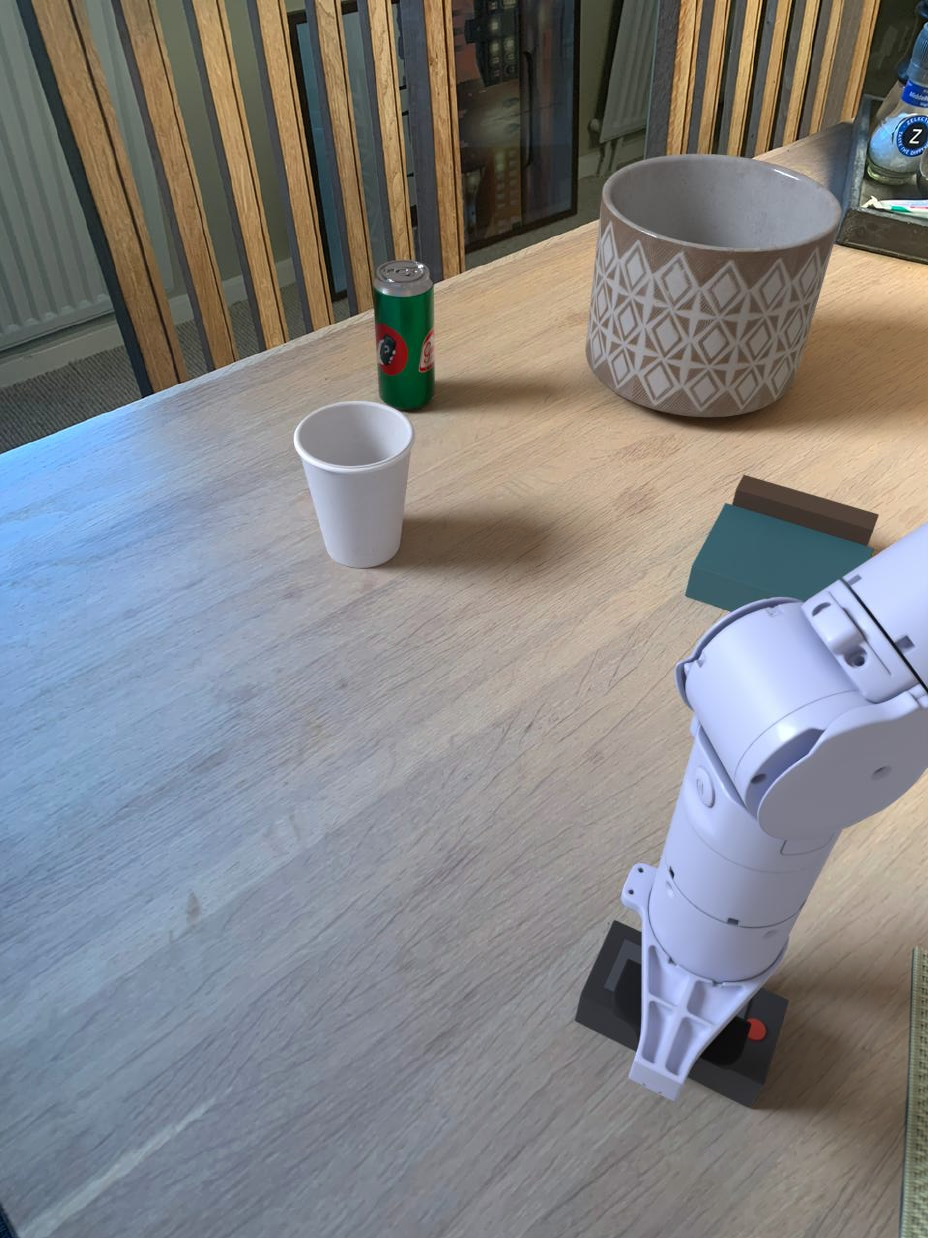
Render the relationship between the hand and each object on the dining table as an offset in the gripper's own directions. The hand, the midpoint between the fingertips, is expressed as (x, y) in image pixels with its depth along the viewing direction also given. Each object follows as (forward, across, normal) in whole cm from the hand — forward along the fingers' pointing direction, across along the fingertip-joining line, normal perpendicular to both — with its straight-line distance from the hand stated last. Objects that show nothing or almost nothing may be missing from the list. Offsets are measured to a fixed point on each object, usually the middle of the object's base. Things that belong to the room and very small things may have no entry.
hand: (680, 1009), depth 49 cm
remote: (+2, 0, 0) cm, 2 cm away
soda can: (+2, -43, -40) cm, 59 cm away
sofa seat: (+2, -34, -4) cm, 34 cm away
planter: (+2, -59, -19) cm, 62 cm away
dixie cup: (+2, -24, -33) cm, 41 cm away
